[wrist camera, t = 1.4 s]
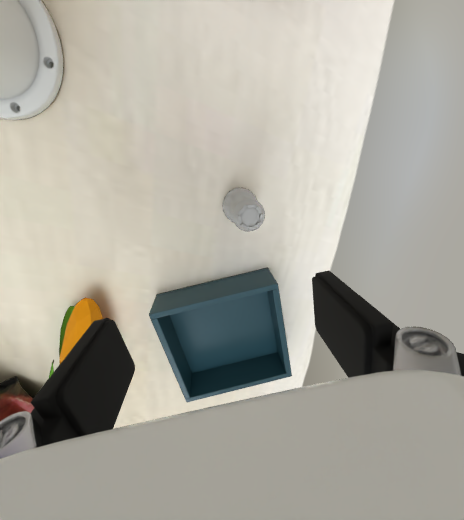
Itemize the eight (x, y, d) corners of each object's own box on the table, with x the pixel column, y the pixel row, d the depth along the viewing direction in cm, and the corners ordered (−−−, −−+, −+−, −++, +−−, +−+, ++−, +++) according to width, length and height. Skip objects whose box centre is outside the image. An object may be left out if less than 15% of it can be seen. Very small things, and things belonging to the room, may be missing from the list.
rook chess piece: (220, 220, 30) (225, 237, 23) (224, 185, 28) (231, 191, 21) (253, 223, 31) (268, 241, 23) (259, 189, 29) (277, 196, 22)
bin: (156, 294, 33) (148, 314, 28) (267, 267, 33) (277, 283, 29) (188, 375, 39) (186, 402, 35) (281, 352, 40) (291, 376, 35)
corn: (38, 439, 31) (25, 314, 24) (66, 388, 37) (62, 280, 31) (99, 436, 32) (103, 320, 26) (115, 388, 39) (121, 286, 32)
